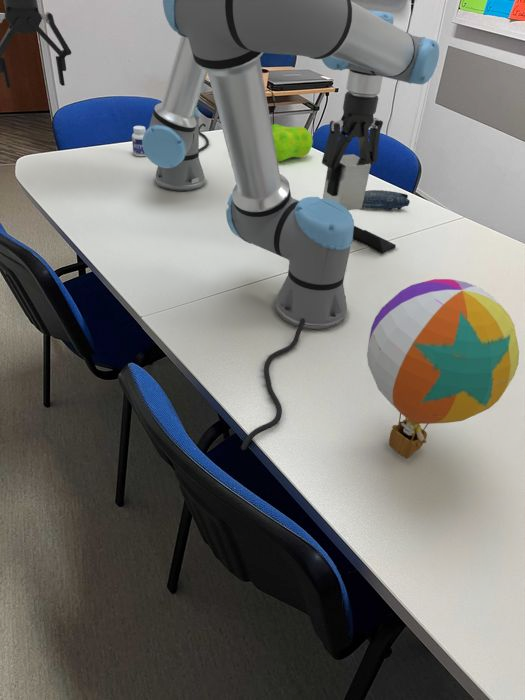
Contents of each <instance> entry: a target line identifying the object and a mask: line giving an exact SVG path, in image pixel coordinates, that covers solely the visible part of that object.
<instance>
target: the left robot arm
mask: <svg viewBox="0 0 525 700" xmlns="http://www.w3.org/2000/svg"><path fill="white" fill-rule="evenodd" d="M3 4H4V12H0V24H2V23H3V22H4V19H5V20H6V22H8V24H9V26H8V28H7V29H6V32H5V34H4V35H3V37H2V38H1V41H0V74H3V75H2V76H3V78H4V83H5V86H6V88H7V89H8V88H9V89H11V83H10V78H9V73H8V69H7V65H6V59H5V58H4V56H3V55H4V53H5V51H6V50H7V48H8V46H9V45H10V43H11V42H12V39H13V37H14V36H15V35H16V34H17V33H18V34H20V35H25V34H29V35H34V34H36V33H37V34H38V35H39V36H40V37H41V38H42V39H43V40H44V42H46V44H48V45H49V47H50V48H51V49H52V50H54V52H55V53H56V54H57V55H56V56H55V61H56V62H55V63H56V67H57V75H58V81H59V84H60V85H61V86H62V87H64V86H65V78H64V72H67V64H66V57H68V56H71V55H72V50H71V49H70V47H69V45H68V44H67V41H66V40H65V38H64V37H63V35H62V34H61V32H60V30H59V28H58V27H57V25H56V23H55V20H54V15H53V14H52V13H51V12H50V11H46V12H45V13H41V12H40V11H39V6H38V0H3ZM42 20H43V21H44V22H45V23H46V24H47V25H48V26H49V27H50V29H51V31H52V32H53V35H54V36H55V38H56V39H57V41H58V43H59V45H60V46H61V48H62V50H61V49H60V48H59V46H58V45H57V44H56V42H54V40H52V39H51V38H50V37H49V36H48V35H47V33H46V32H45V31H44V30H43V29H42V28H41V27H40V25H41V24H42ZM207 76H208V72H207V71H206V70H204V69H202V68H200V67H199V66H198V65H197V64H196V63H195V61H194V57H193V54H192V50H191V47H190V43H189V39H188V37H183V36H181V35H180V38H179V42H178V46H177V49H176V53H175V56H174V60H173V64H172V66H171V71H170V73H169V77H168V81H167V84H166V88H165V91H164V95H163V99H162V101H161V102H159V103H157V104H155V106H154V107H153V112H152V115H151V118H150V121H149V125H148V128H147V129H145V130H146V131H145V133H144V136H143V140H142V146H143V150H144V153H145V154H146V156H145V157H146V159H148V160H149V161H150V162H151V163H152V164H154V165H155V166H157V168H156V171H155V183H156V185H158V187H161V188H162V189H166V190H169V191H176V192H177V191H178V192H185V191H186V192H188V191H193V190H198V189H200V188H201V187H203V186H204V185H205V179H206V178H205V177H206V176H205V173H204V171H203V167H202V163H201V161H200V152H201V151H203V150H205V149H206V148H207V147H208V146H209V143H210V142H209V138H208V136H206V135H205V134H204V133H203V132H201V131H200V130H201V128H202V127H204V128H205V127H207V125H206V123H201V124H199V123H200V115H199V108H198V104H199V103H198V102H199V100H200V96H201V93H202V90H203V88H204V85H205V81H206V78H207ZM200 135H201V136H202V137H203V138H204V139H205V141H206V142H205V144H204V146H202V147H200V145H199V144H200V141H199V140H200V139H199V138H200Z"/></svg>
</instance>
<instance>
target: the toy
mask: <svg viewBox="0 0 525 700" xmlns="http://www.w3.org/2000/svg"><path fill="white" fill-rule="evenodd" d="M517 337H518V336H517V333H516V328H515V323H514V321H513V320H512V318H511V315H510V314H509V313H508V311H507V310H506V309H505V308H504V306H502V304H501V303H500V302H499V300H498V299H496V297H494V296H493V295H492V294H490V293H489V292H487V291H486V290H484V289H482V288H481V287H479V286H477V285H475V284H471V283H469V282H466V281H462V280H457V279H451V278H433V279H430V280H426V281H422V282H419V283H414V284H411V285H409V286H407V287H405V288H403V289H401V290H400V291H399V292H398V293H397V294H395V296H393V297H392V298H391V299H389V301H388V302H386V304H384V305H383V306H382V307H381V308H380V310H379V311H378V313H377V314H376V315H375V318H374V319H373V322H372V325H371V328H370V332H369V337H368V344H367V350H366V359H367V365H368V368H369V371H370V372H371V373H370V374H371V375H372V378H373V380H374V382H375V385H376V388H377V390H378V391H379V392H380V393H381V394H382V395H383V397H384V398H385V399H386V400H387V401H388V402H389V403H390V404H391V405H392V406H393V407H394V408H395V410H397V411H398V412H399V418H398V423H397V424H393V425H392V427H391V428H392V429H391V430H390V433H389V436H388V445H389V447H390V448H391V449H392V450H394V451H395V452H397V453H398V454H399V455H400V456H402V457H403V458H404V459H409V458H410V457H411V456H413V455H414V454H416V453H417V452H418V451H419V450H421V448H422V447H423V445H424V444H426V443H427V437H428V432H427V431H426V428H427V427H428V425H432V424H447V423H456V422H457V423H458V422H463V421H466V420H468V419H470V418H472V417H474V416H476V415H478V414H481V413H483V412H485V411H487V410H489V409H490V408H492V406H494V405H495V404H497V402H499V401H500V399H501V398H502V396H503V395H504V393H505V391H506V390H507V389H508V387H509V385H510V383H511V382H512V381H513V378H514V377H515V375H516V372H517V369H518V366H519V360H520V359H519V358H520V348H519V344H518V343H519V342H518V338H517ZM402 416H403V417H405V419H404V420H401V419H402V418H401V417H402ZM423 424H424V425H425V424H426V425H425V426H424V428H422V426H421V425H423Z"/></svg>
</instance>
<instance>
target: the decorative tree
mask: <svg viewBox="0 0 525 700" xmlns="http://www.w3.org/2000/svg"><path fill="white" fill-rule="evenodd" d="M271 127H272V132H273V138H274V144H275V150H276V156H277V161H278V163H280V162H283V161H286V160H288V159H290V158H300V159H301V158H303V157H305V156H307V155H309V153H310V151H311V149H312V147H313V143H314V138H313V135H312V133H311V132H309V130H308V129H307V128H306V127H304V126H285V125H281V124H277V123H273V124H271Z"/></svg>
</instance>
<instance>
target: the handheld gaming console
mask: <svg viewBox="0 0 525 700" xmlns="http://www.w3.org/2000/svg"><path fill="white" fill-rule="evenodd" d="M353 240H354V241H355V242H357V243H359V244H362V245H364V246H366V247H368V248H369V249H371V250H373V251H374V252H377V253H379V254H381V255H383V254H385V253H387V252H389V251H391V250H394V249H396V246H397V245H396V244H395V243H393V242H391V241H389V240H387V239H385V238H383V237H381V236H378V235H376V234H374V233H372V232H370V231H368V230H367V229H362V228H360V227H358V226H356V225H354V230H353Z"/></svg>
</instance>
